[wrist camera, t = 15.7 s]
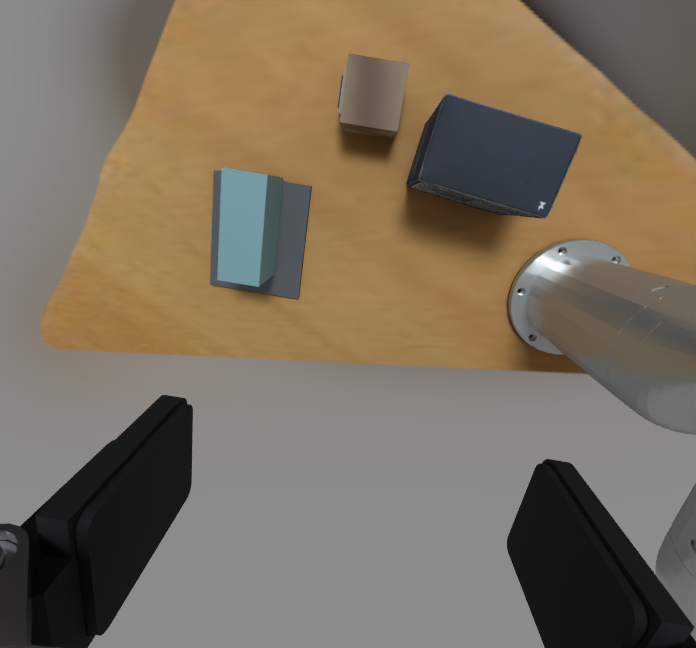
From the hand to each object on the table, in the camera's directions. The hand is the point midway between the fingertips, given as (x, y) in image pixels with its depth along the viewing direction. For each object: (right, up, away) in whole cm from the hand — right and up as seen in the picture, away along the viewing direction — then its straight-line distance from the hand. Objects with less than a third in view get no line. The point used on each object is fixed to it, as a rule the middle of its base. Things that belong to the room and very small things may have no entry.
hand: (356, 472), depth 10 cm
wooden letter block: (+2, +25, +26) cm, 36 cm away
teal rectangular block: (-10, +14, +29) cm, 34 cm away
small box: (+12, +20, +27) cm, 35 cm away
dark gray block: (-10, +13, +30) cm, 34 cm away
